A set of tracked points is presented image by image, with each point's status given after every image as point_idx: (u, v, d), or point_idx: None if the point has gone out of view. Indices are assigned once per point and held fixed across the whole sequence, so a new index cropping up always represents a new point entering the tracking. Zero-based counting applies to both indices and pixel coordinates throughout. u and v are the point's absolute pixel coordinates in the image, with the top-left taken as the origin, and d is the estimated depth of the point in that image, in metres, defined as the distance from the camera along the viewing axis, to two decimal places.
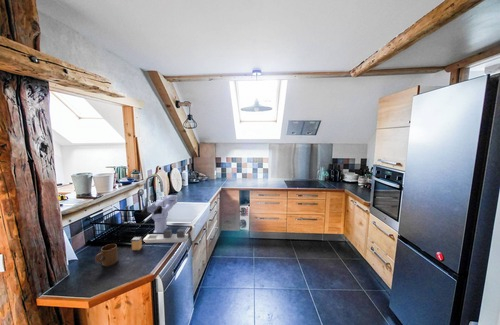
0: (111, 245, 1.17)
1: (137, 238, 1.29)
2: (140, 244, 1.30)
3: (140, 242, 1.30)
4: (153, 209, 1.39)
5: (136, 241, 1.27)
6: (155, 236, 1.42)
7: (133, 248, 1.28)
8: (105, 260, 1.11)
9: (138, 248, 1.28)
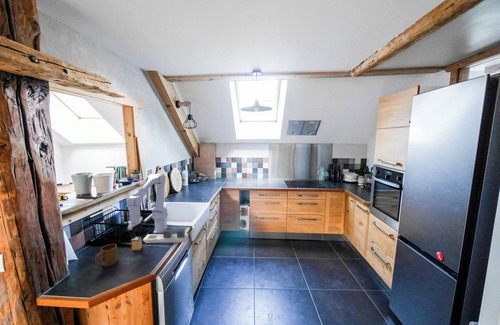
0: (111, 245, 1.17)
1: (137, 238, 1.29)
2: (140, 244, 1.30)
3: (140, 242, 1.30)
4: None
5: (136, 241, 1.27)
6: (155, 236, 1.42)
7: (133, 248, 1.28)
8: (105, 260, 1.11)
9: (138, 248, 1.28)
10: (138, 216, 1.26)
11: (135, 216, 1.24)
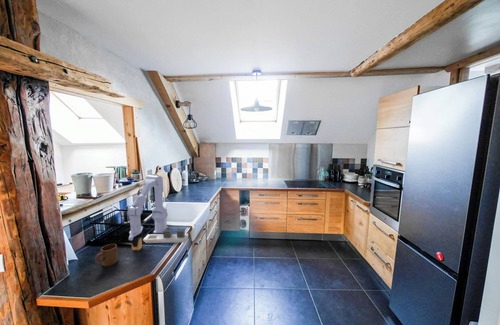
0: (111, 245, 1.17)
1: None
2: (140, 244, 1.30)
3: (140, 242, 1.30)
4: None
5: None
6: (155, 236, 1.42)
7: (133, 248, 1.28)
8: (105, 260, 1.11)
9: (138, 248, 1.28)
10: (139, 226, 1.27)
11: (136, 226, 1.25)
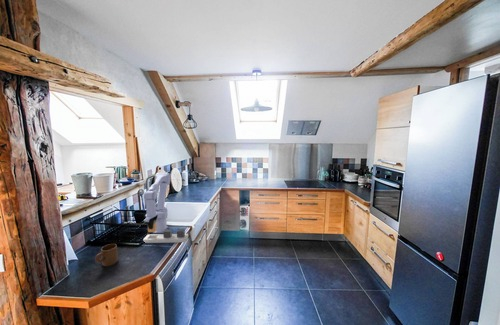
0: (111, 245, 1.17)
1: None
2: (155, 227, 1.39)
3: (155, 225, 1.39)
4: None
5: None
6: (155, 236, 1.42)
7: (149, 230, 1.37)
8: (105, 260, 1.11)
9: (153, 230, 1.37)
10: (154, 209, 1.36)
11: (151, 209, 1.34)
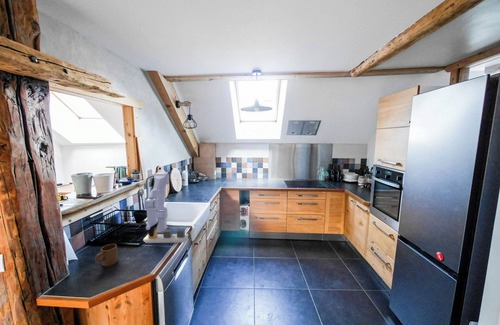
0: (111, 245, 1.17)
1: None
2: (156, 234, 1.40)
3: (156, 232, 1.40)
4: None
5: None
6: None
7: (149, 237, 1.38)
8: (105, 260, 1.11)
9: (154, 237, 1.38)
10: (155, 217, 1.37)
11: (152, 217, 1.35)
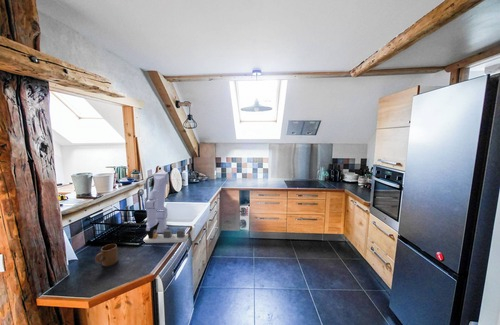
0: (111, 245, 1.17)
1: None
2: (156, 236, 1.40)
3: (156, 234, 1.40)
4: None
5: None
6: None
7: None
8: (105, 260, 1.11)
9: None
10: (155, 218, 1.37)
11: (152, 218, 1.36)
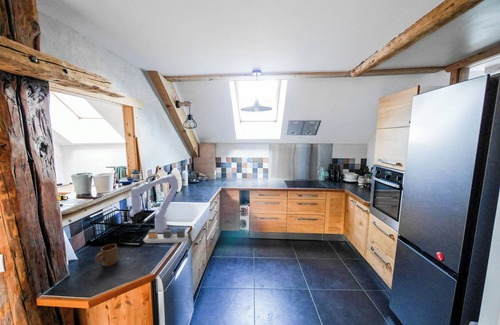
0: (111, 245, 1.17)
1: (153, 230, 1.39)
2: (156, 236, 1.40)
3: (156, 234, 1.40)
4: None
5: (152, 233, 1.38)
6: None
7: None
8: (105, 260, 1.11)
9: None
10: (139, 205, 1.44)
11: (136, 205, 1.42)
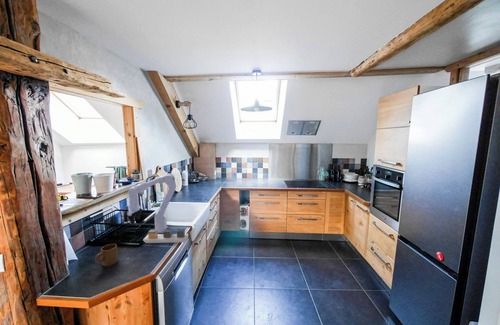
0: (111, 245, 1.17)
1: (153, 230, 1.39)
2: (156, 236, 1.40)
3: (156, 234, 1.40)
4: None
5: (152, 233, 1.38)
6: None
7: None
8: (105, 260, 1.11)
9: None
10: (137, 204, 1.45)
11: (134, 204, 1.43)
